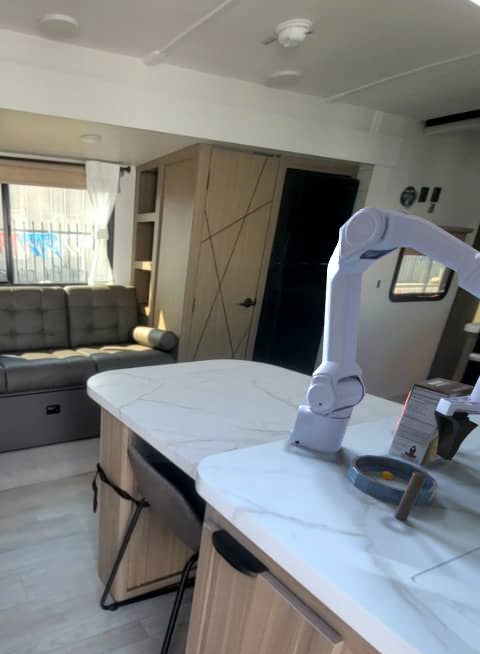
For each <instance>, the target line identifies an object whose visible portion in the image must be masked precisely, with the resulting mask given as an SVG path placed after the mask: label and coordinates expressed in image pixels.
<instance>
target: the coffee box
mask: <svg viewBox="0 0 480 654" xmlns="http://www.w3.org/2000/svg"><path fill="white" fill-rule="evenodd" d="M474 387H475V386H474V385H470V384H465V383H461V382H457V381H454V380H449V379H445V378H442V377H436V378H432V379H428V380H427V379H426V380H424V381H419V382H415V383H413V385H412V388H411V390H410V391H411V393H410V392H409V393H410V395H409V394H408V395H409V398H408V397H407V398H408V400H407V399H406V400H407V403H406V402H405V403H406V405H405V404H404V405H405V408H404V407H403V408H404V411H403V413H402V412H401V413H402V416H401V418H400V417H399V418H400V421H399V423H398V422H397V423H398V426H397V425H396V426H397V429H396V431H395V430H394V434H393V437H392V439H391V442H390V444H389V447H388V449H387V452H388V453H390V454H392V455H394V456H397V457H399V458H401V459H404V460H406V461H408V462H411V463H413V464H415V465H418V466H424V465H426V464H430V463H433V462H435V461H438V460H440V459H443V458H442V457H440V456H439V455H437V446H438V427H437V422H436V418H435V415H434V412H435V410H436V408H437V406H438V404H439V402H440V399H441V398H456V397H463V396H470V395H471V394H472V392H473V389H474Z"/></svg>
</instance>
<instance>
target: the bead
mask: <svg viewBox="0 0 480 654" xmlns="http://www.w3.org/2000/svg"><path fill="white" fill-rule="evenodd" d="M379 478H381V479H383V480H385V481H393V479H394V475H392V474H391V473H390V472H387V471H384V472H380V474H379Z"/></svg>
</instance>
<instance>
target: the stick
mask: <svg viewBox="0 0 480 654" xmlns="http://www.w3.org/2000/svg"><path fill="white" fill-rule="evenodd" d="M426 477H427V476H426V475H425V474H423V473H420V472H413V474H412V477H411V479H410V481H409V482H408V483H407V486H406V488H405V489H404V490H405V492H404V495H403V497H402V499H401V502H400V504H399V505H397V509H396V511H395V513H394V519H396V520H398V521H401V522H407V521H408V519H409V517H410V514H411V512H412V510H413V508H414V507H413V506H414V503H415V501H416V499H417V497H418V495H419V493H420V490H421V488H422V486H423V484H424V482H425V479H426Z"/></svg>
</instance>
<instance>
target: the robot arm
mask: <svg viewBox="0 0 480 654" xmlns="http://www.w3.org/2000/svg"><path fill="white" fill-rule="evenodd" d="M400 248H411V249H413V250H415V251H416V252H418V253H421V254H422V255H424V256H426V257H428V258H430V259H431V260H434V261H435V262H437V263H439V264H440V265H442V266H444V267H447V268H448V269H450V270H452V271H454V272H456V274H457V275H456V276H457V285H458V287H460V288H461V289H463V290H465V291H466V292H468V293H469V294H471V295H473V296H475V298H478V299H479V300H480V251H479V250H477V249H475V248H474V247H473V246H471V245H469V244H467V243H466V242H464V241H463V240H461V239H459V238H457V237H456V236H455V235H453V234H451V233H450V232H448V231H446V230H444V229H443V228H441V227H440V226H439V225H438V226H437V225H436V224H435V223H434V222H432V221H430V220H427V219H426V218H424V217H421V216H418V215H414V214H410V213H409V211H405V210H402V209H401V210H400V209H397V210H392V209H381V208H379V207H374V206H367V207H363V208H361V209H360V210H358V211H356V212H354V214H352V216H351V217H350V218H349V219H347V220H346V222H345V223H344V224H343V225H342V226H340V228H339V238H338V243H337V245H336V247H335V249H334V251H333V254H332V255H331V257H330V260H329V262H328V265H327V275H326V277H327V278H326V289H325V290H326V291H325V292H326V293H325V309H324V310H325V311H324V327H323V330H324V331H323V344H322V361H321V364H320V365H319V366H318V367H317V368H316V369H315V371H314V372H313V374H311V382H310V385H309V387H308V389H307V390H306V391H307V392H306V402H307V404H308V405H302V404H301V405H299V408H298V412H297V416H296V419H295V422H294V427H293V429H291V430H290V434H289V439H290V442H289V444H290V445H291V444H292V445H296V446H299V447H304V448H307V449H310V450H313V451H317V452H320V453H327V454H330V453H331V454H332V453H337V452H340V450H341V447H342V443H343V440H344V437H345V434H346V432H347V429H348V426H349V423H350V420H351V417H352V414H353V411H354V407H355V406H357V405H359V404H361V402H363V400H364V399H365V397H366V393H367V389H366V385H365V383H364V381H363V369H362V368H361V367H360V365H359V364H358V362H357V348H358V347H357V346H358V335H359V322H360V309H361V294H362V283H363V282H362V281H363V274H364V273H365V271H367V270H368V269H370V268H371V266H372V265H373V264H375V263H376V262H377V261H378V260H380V259H382V258H383V257H385V256H387V255H389V254H392V253H393V252H395V251H396V250H398V249H400ZM474 385H475V386H474V389H473V392H472V394H471V395H470V396H463V397H456V398H441V399H440V402H439V404H438V406H437V408H436V410H435V412H434V415H435V418H436V422H437V427H438V446H437V455H439V456H440V457H442V458H441V459H443V460H445V461H452V460H453V458H454V457H455V456H456V454H457V452H458V451H459V449H460V447H461V445H462V444H463V443H464V441H465V439H466V438H467V437H468V436H469V435H470V434H471V433H472V432H473V431H474V430H475V429H476V428H477V427H479V424H478V423H476V422H474V421H472V420H470V419H471V418H470V417H469V415H471V416H473V415H474V416H478V415H479V416H480V376H479V377H478V379H477V381H476V383H475V384H474ZM297 442H298V443H297Z"/></svg>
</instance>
